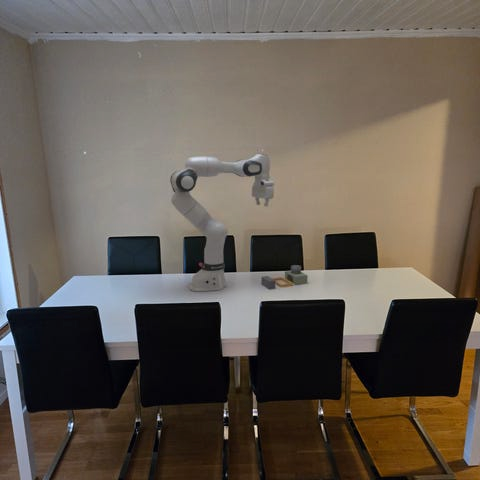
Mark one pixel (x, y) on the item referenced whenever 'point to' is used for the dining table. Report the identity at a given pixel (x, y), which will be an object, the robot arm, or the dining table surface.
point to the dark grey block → (268, 282)
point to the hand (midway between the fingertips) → (262, 205)
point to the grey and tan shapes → (292, 277)
